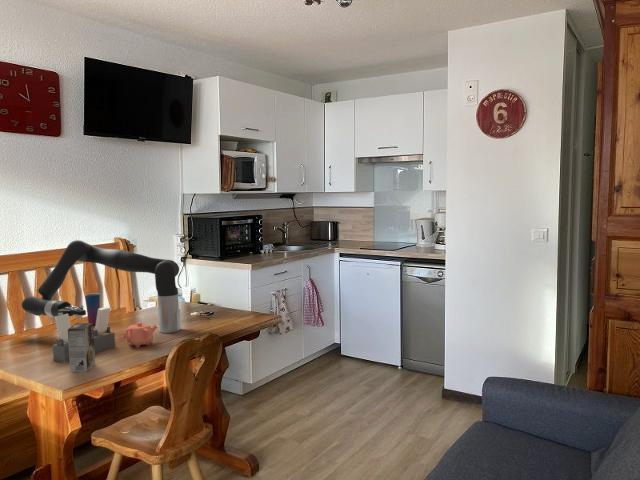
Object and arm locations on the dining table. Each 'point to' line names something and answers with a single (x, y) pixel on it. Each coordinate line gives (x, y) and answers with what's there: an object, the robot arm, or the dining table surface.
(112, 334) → the grey block structure
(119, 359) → the dining table surface
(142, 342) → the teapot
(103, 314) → the rocker
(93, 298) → the cup
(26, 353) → the dining table surface
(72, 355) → the coffee box
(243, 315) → the dining table surface
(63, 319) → the rocker
